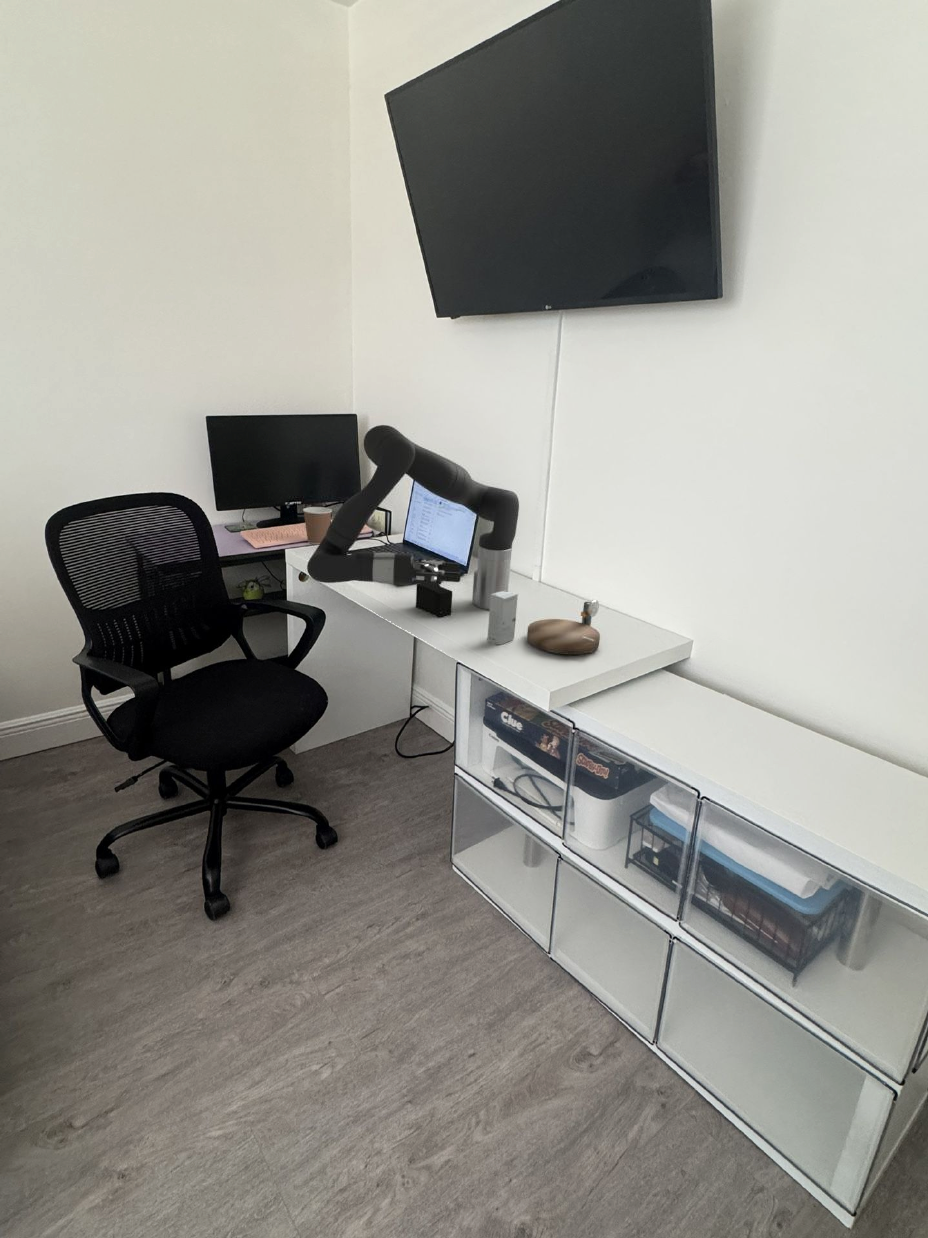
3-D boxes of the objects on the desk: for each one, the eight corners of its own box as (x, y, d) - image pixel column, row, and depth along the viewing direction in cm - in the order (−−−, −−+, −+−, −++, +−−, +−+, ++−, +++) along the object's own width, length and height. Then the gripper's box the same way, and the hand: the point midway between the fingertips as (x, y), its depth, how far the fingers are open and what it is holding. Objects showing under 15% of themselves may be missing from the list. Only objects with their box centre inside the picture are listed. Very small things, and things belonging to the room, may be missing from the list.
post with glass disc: (586, 636, 182) (590, 602, 178) (576, 633, 183) (580, 599, 180) (595, 631, 185) (599, 598, 182) (585, 628, 187) (589, 595, 184)
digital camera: (454, 614, 191) (456, 590, 189) (439, 618, 188) (441, 593, 185) (430, 604, 198) (431, 580, 196) (415, 607, 195) (416, 583, 192)
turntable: (512, 639, 174) (513, 630, 173) (551, 622, 188) (552, 613, 187) (575, 660, 164) (577, 650, 163) (611, 641, 177) (612, 632, 176)
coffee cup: (336, 540, 260) (336, 508, 256) (325, 546, 251) (324, 513, 247) (310, 537, 262) (310, 505, 258) (298, 543, 253) (297, 510, 249)
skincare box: (500, 645, 172) (504, 598, 168) (486, 640, 174) (489, 594, 170) (515, 639, 176) (519, 593, 172) (501, 634, 179) (504, 589, 175)
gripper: (391, 560, 160) (461, 565, 161) (395, 546, 174) (460, 550, 175) (390, 592, 163) (459, 596, 164) (394, 575, 176) (458, 579, 177)
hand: (460, 572), depth 169 cm, fingers open, 8 cm apart
